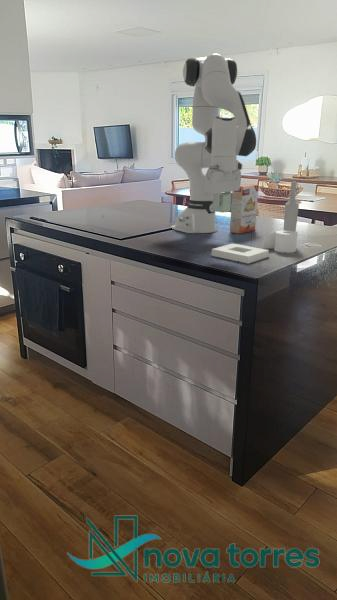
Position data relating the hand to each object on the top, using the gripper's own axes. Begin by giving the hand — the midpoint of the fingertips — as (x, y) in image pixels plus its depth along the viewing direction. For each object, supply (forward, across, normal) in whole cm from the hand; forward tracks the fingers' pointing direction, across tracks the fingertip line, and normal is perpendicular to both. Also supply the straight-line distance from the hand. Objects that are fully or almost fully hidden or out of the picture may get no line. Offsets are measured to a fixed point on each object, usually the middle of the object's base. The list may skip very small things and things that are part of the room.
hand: (221, 205), depth 161 cm
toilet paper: (+18, +20, -15) cm, 31 cm away
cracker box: (+17, +44, +13) cm, 49 cm away
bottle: (+18, +28, -15) cm, 37 cm away
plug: (+2, 0, 0) cm, 2 cm away
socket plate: (+18, +1, -8) cm, 20 cm away
